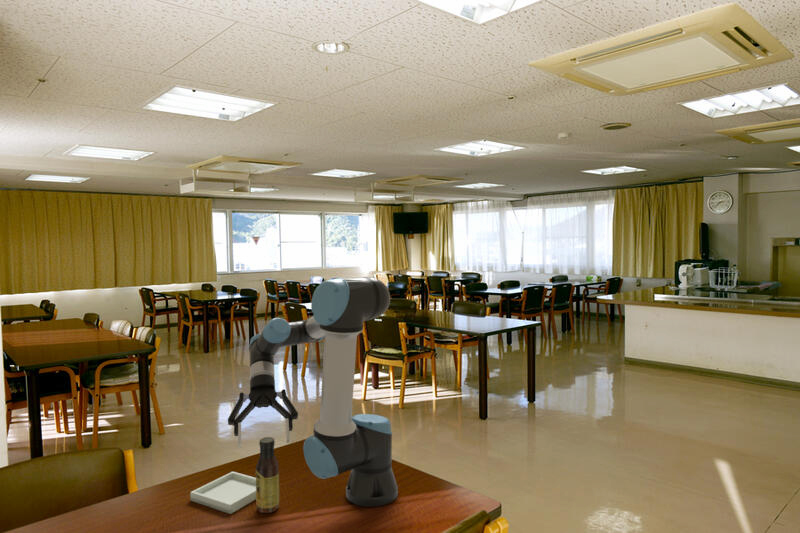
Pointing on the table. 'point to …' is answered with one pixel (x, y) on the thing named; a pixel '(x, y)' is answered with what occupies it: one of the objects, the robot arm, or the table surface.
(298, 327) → the robot arm
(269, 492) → the sauce bottle
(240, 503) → the tray
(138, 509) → the table surface
